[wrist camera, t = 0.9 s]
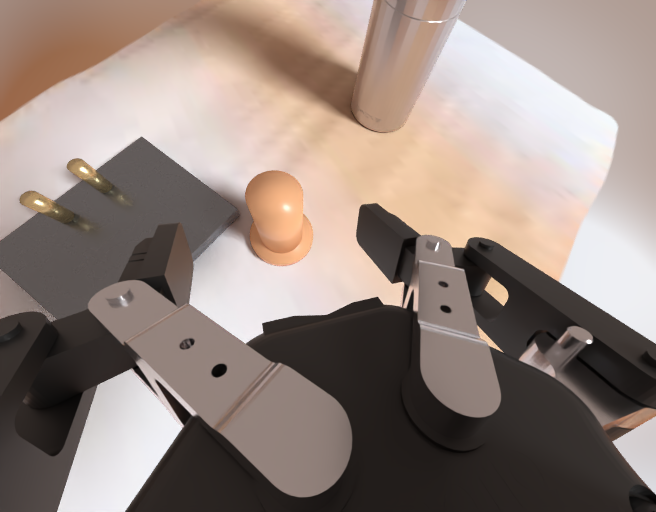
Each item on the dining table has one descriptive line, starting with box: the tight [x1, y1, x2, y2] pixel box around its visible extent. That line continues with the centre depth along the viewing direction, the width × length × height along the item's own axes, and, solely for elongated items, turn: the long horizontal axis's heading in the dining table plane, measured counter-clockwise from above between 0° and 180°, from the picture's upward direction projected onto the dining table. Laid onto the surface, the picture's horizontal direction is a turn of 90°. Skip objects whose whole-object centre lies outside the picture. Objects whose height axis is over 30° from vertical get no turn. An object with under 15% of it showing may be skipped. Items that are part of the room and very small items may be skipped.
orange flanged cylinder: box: [245, 171, 313, 266], centre depth 27 cm, size 8×8×10 cm
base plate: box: [0, 137, 240, 320], centre depth 27 cm, size 20×16×6 cm
